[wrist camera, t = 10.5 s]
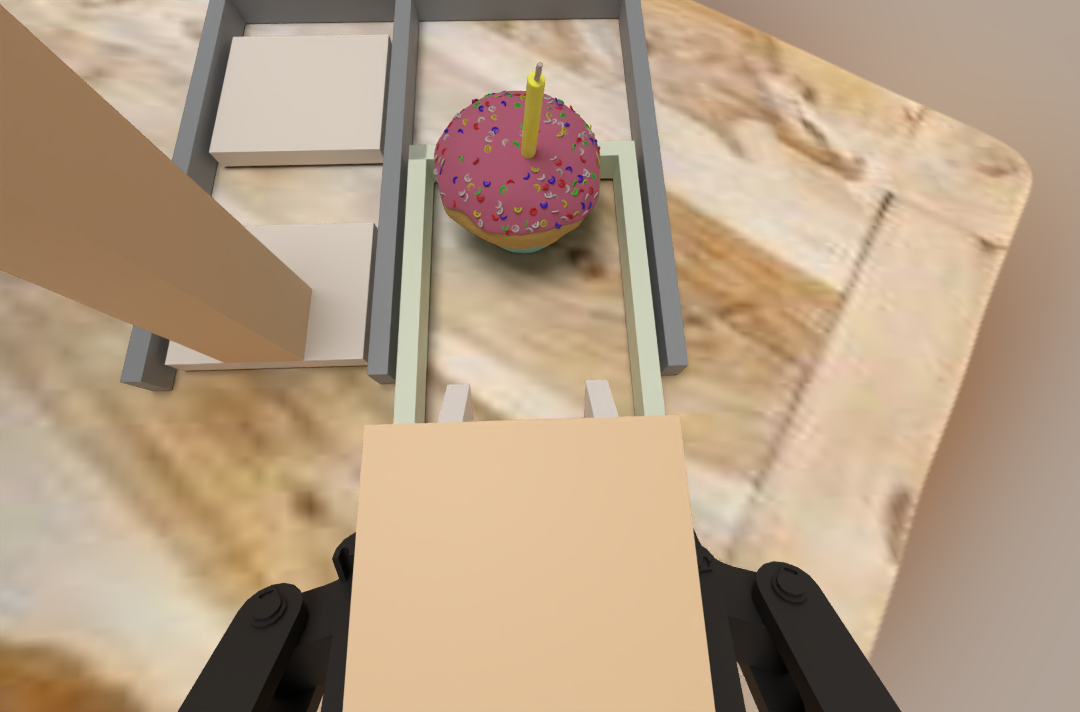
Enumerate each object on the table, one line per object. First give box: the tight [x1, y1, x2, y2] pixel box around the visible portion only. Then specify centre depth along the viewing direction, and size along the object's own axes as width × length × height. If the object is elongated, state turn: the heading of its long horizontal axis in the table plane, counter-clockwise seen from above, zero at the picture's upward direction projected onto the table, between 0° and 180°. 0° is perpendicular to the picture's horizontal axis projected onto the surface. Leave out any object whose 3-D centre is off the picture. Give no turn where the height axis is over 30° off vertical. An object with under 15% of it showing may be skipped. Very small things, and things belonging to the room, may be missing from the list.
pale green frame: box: [343, 141, 715, 712], centre depth 16 cm, size 22×13×18 cm, turn 2°
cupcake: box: [433, 62, 600, 253], centre depth 22 cm, size 9×8×12 cm
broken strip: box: [0, 5, 392, 371], centre depth 19 cm, size 22×10×17 cm, turn 2°
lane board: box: [120, 0, 688, 391], centre depth 27 cm, size 27×28×2 cm
